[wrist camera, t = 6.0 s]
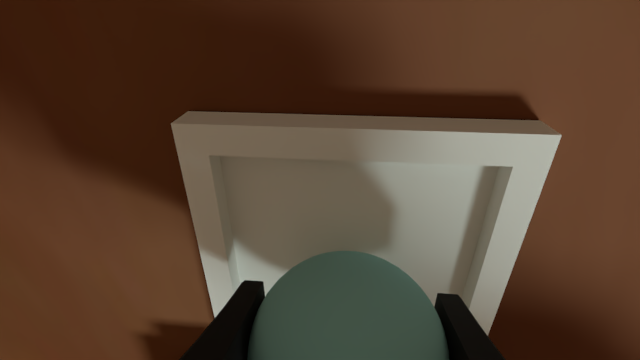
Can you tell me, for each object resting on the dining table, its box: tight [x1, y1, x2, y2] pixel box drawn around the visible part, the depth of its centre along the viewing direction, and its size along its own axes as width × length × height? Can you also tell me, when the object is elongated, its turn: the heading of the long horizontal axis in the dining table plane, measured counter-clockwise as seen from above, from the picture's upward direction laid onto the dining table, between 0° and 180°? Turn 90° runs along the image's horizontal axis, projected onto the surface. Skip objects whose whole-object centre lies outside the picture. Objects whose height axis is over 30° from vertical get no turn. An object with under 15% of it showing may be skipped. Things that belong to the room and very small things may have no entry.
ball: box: [247, 251, 450, 360], centre depth 10 cm, size 6×6×6 cm
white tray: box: [171, 111, 562, 336], centre depth 13 cm, size 11×11×1 cm
